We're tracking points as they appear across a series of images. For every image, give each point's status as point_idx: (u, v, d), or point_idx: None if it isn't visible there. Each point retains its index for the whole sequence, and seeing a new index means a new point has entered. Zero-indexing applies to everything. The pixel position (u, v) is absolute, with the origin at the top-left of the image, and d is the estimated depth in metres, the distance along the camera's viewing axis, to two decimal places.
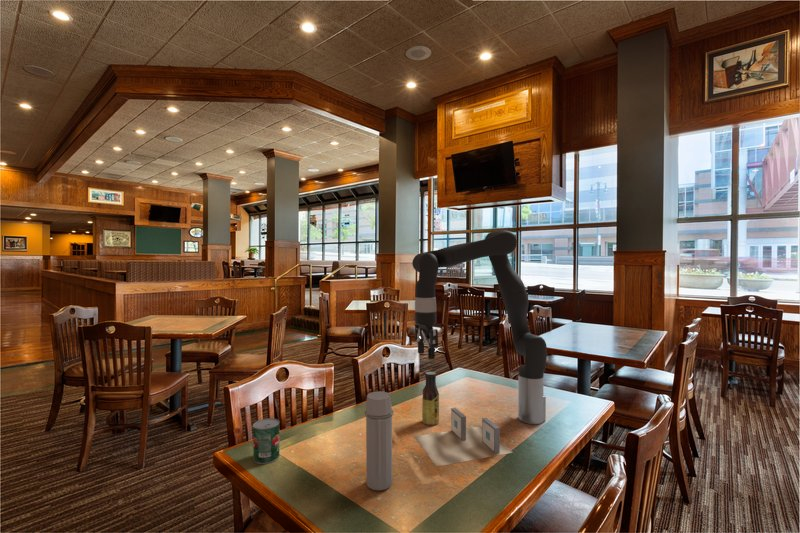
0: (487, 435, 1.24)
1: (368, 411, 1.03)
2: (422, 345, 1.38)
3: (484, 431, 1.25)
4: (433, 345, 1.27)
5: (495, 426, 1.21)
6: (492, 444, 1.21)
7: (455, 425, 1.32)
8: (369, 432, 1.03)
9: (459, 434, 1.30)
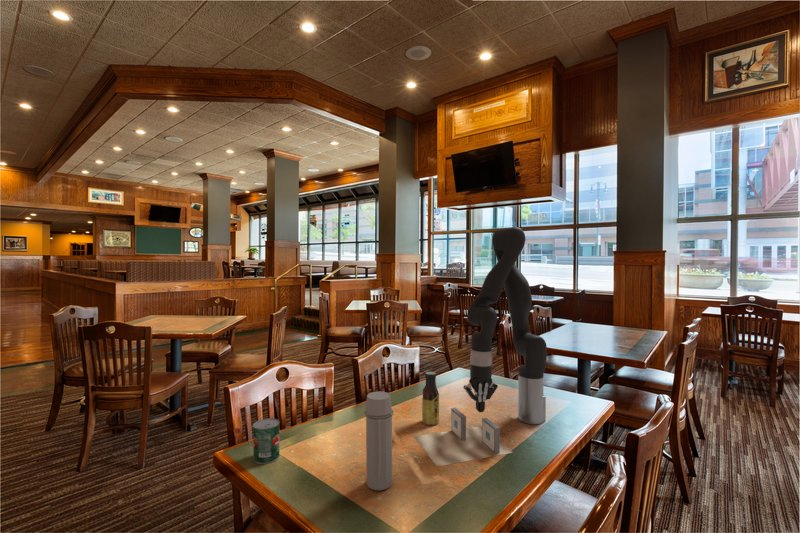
0: (487, 435, 1.24)
1: (368, 411, 1.03)
2: None
3: (484, 431, 1.25)
4: None
5: (495, 426, 1.21)
6: (492, 444, 1.21)
7: (455, 425, 1.32)
8: (369, 432, 1.03)
9: (459, 434, 1.30)
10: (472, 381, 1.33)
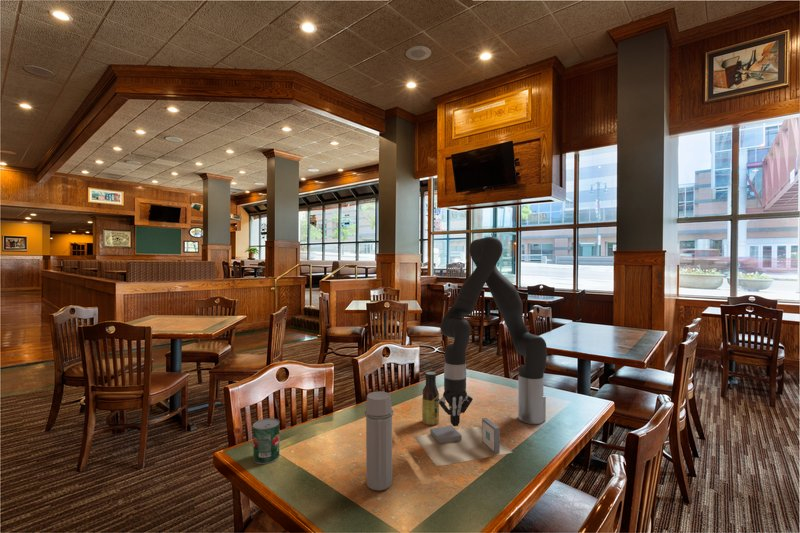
0: (487, 435, 1.24)
1: (368, 411, 1.03)
2: None
3: (484, 431, 1.25)
4: None
5: (495, 426, 1.21)
6: (492, 444, 1.21)
7: None
8: (369, 432, 1.03)
9: None
10: (446, 395, 1.30)
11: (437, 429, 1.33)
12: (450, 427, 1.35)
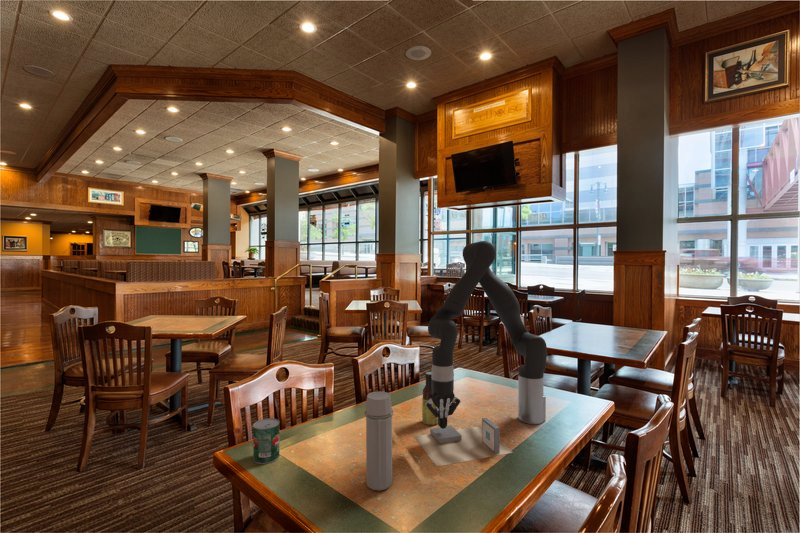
0: (487, 435, 1.24)
1: (368, 411, 1.03)
2: None
3: (484, 431, 1.25)
4: None
5: (495, 426, 1.21)
6: (492, 444, 1.21)
7: None
8: (369, 432, 1.03)
9: None
10: (433, 397, 1.28)
11: (437, 429, 1.33)
12: (450, 427, 1.35)
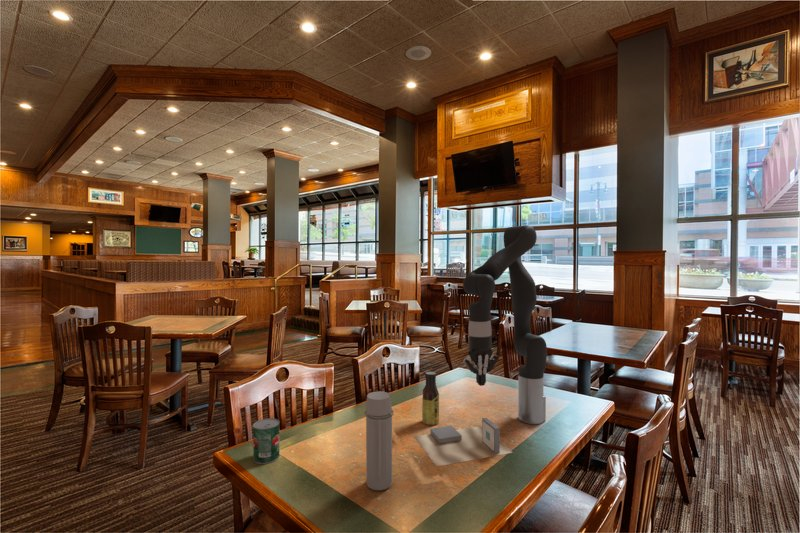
0: (487, 435, 1.24)
1: (368, 411, 1.03)
2: None
3: (484, 431, 1.25)
4: None
5: (495, 426, 1.21)
6: (492, 444, 1.21)
7: None
8: (369, 432, 1.03)
9: None
10: (471, 353, 1.26)
11: (437, 429, 1.33)
12: (450, 427, 1.35)
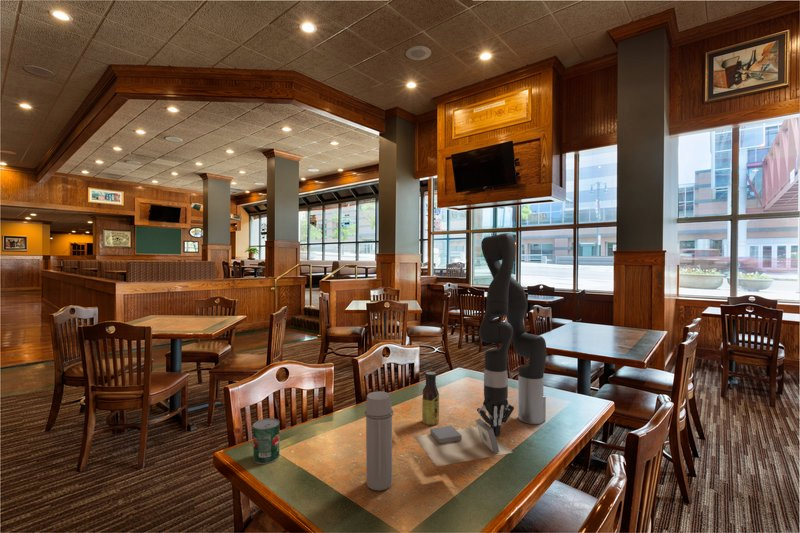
0: (484, 436, 1.23)
1: (368, 411, 1.03)
2: None
3: (481, 432, 1.25)
4: None
5: (488, 427, 1.20)
6: (490, 445, 1.21)
7: None
8: (369, 432, 1.03)
9: None
10: (486, 404, 1.22)
11: (437, 429, 1.33)
12: (450, 427, 1.35)
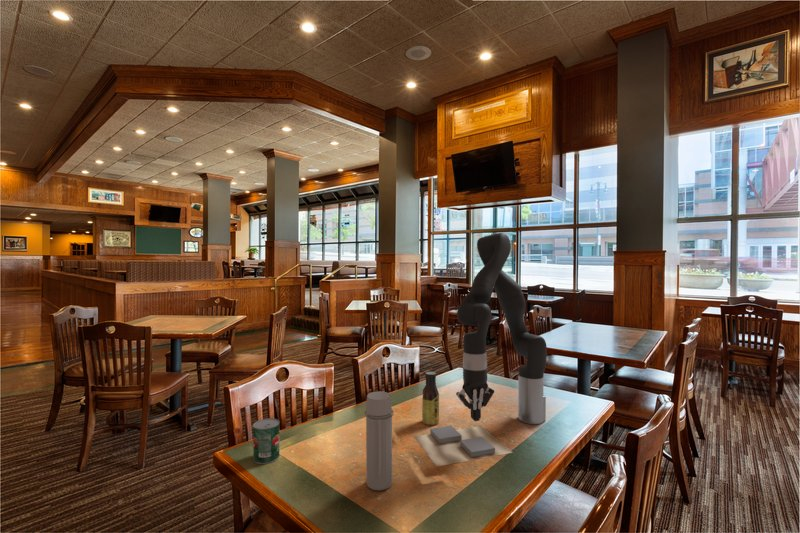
0: None
1: (368, 411, 1.03)
2: None
3: None
4: None
5: (470, 452, 1.18)
6: None
7: None
8: (369, 432, 1.03)
9: None
10: (466, 387, 1.19)
11: (437, 429, 1.33)
12: (450, 427, 1.35)
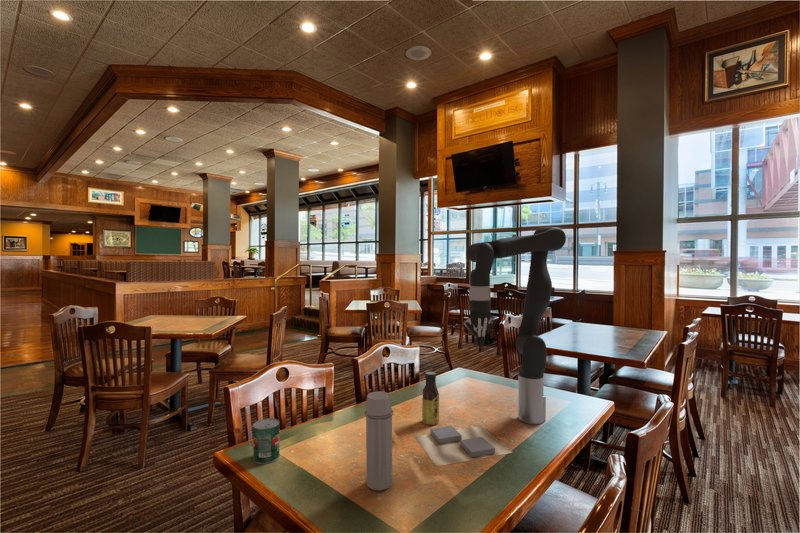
0: None
1: (368, 411, 1.03)
2: None
3: None
4: None
5: (470, 452, 1.18)
6: None
7: None
8: (369, 432, 1.03)
9: None
10: (471, 316, 1.35)
11: (437, 429, 1.33)
12: (450, 427, 1.35)
